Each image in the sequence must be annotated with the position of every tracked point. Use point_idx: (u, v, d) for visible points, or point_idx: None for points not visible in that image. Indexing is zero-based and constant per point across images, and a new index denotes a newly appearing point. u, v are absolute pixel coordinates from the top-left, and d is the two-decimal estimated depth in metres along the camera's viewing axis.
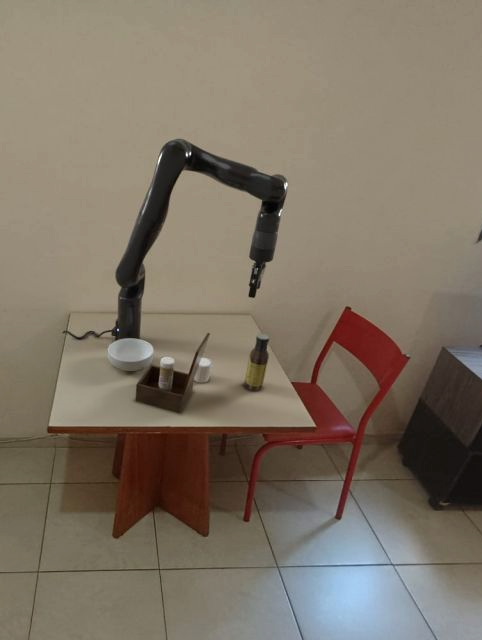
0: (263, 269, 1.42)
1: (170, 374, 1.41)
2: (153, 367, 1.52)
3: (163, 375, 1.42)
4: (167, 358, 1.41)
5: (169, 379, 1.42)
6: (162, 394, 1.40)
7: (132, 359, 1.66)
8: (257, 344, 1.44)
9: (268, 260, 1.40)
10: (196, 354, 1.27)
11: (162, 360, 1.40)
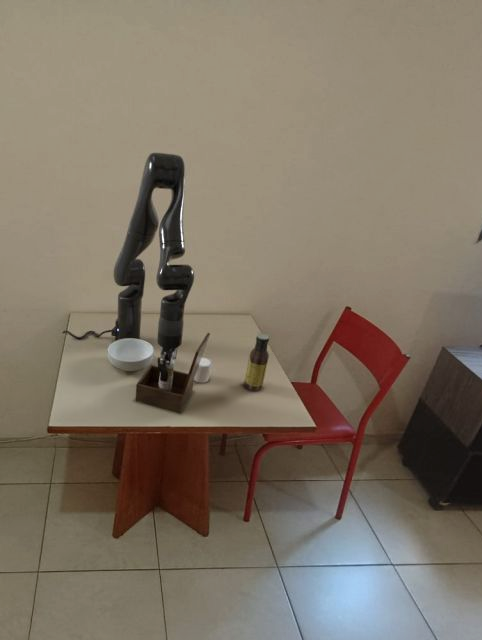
0: (171, 355, 1.37)
1: (170, 374, 1.41)
2: (153, 367, 1.52)
3: None
4: None
5: (169, 379, 1.42)
6: (162, 394, 1.40)
7: (132, 359, 1.66)
8: (257, 344, 1.44)
9: (175, 346, 1.34)
10: (196, 354, 1.27)
11: None
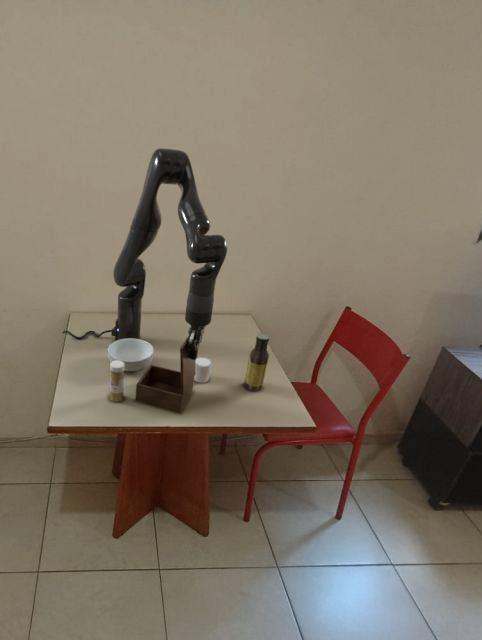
0: (200, 334, 1.29)
1: (120, 378, 1.40)
2: (153, 367, 1.52)
3: (113, 378, 1.40)
4: (117, 362, 1.40)
5: (119, 383, 1.41)
6: (162, 394, 1.40)
7: (132, 359, 1.66)
8: (257, 344, 1.44)
9: (204, 324, 1.26)
10: (181, 350, 1.29)
11: (112, 364, 1.39)
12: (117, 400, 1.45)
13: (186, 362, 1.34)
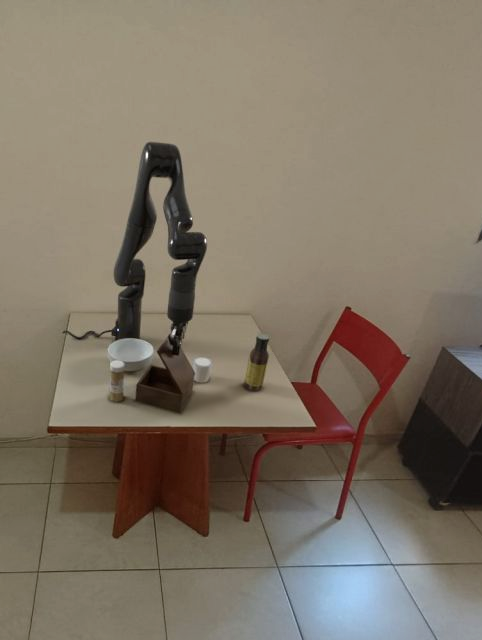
0: (182, 330, 1.31)
1: (120, 378, 1.40)
2: (153, 367, 1.52)
3: (113, 378, 1.40)
4: (117, 362, 1.40)
5: (119, 383, 1.41)
6: (162, 394, 1.40)
7: (132, 359, 1.66)
8: (257, 344, 1.44)
9: (186, 320, 1.28)
10: (158, 353, 1.32)
11: (112, 364, 1.39)
12: (117, 400, 1.45)
13: (172, 363, 1.37)
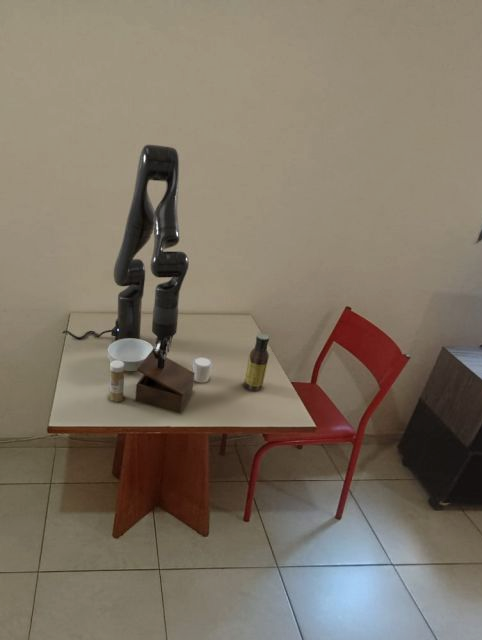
0: (166, 344, 1.36)
1: (120, 378, 1.40)
2: None
3: (113, 378, 1.40)
4: (117, 362, 1.40)
5: (119, 383, 1.41)
6: (162, 394, 1.40)
7: (132, 359, 1.66)
8: (257, 344, 1.44)
9: (170, 335, 1.33)
10: (139, 370, 1.39)
11: (112, 364, 1.39)
12: (117, 400, 1.45)
13: (159, 373, 1.40)
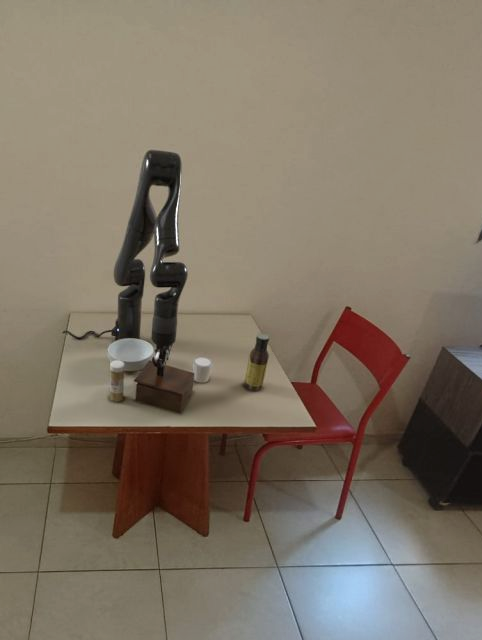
0: (165, 352, 1.37)
1: (120, 378, 1.40)
2: None
3: (113, 378, 1.40)
4: (117, 362, 1.40)
5: (119, 383, 1.41)
6: (162, 394, 1.40)
7: (132, 359, 1.66)
8: (257, 344, 1.44)
9: (169, 344, 1.34)
10: (136, 381, 1.41)
11: (112, 364, 1.39)
12: (117, 400, 1.45)
13: (156, 379, 1.42)
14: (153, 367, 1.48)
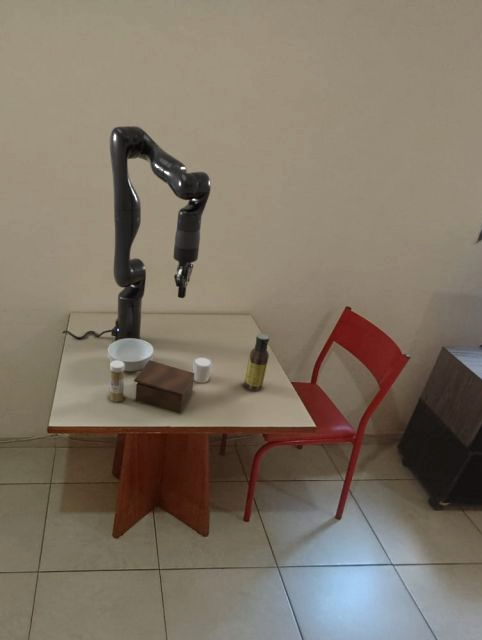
0: (187, 271, 1.38)
1: (120, 378, 1.40)
2: None
3: (113, 378, 1.40)
4: (117, 362, 1.40)
5: (119, 383, 1.41)
6: (162, 394, 1.40)
7: (132, 359, 1.66)
8: (257, 344, 1.44)
9: (191, 260, 1.35)
10: (136, 381, 1.41)
11: (112, 364, 1.39)
12: (117, 400, 1.45)
13: (156, 379, 1.42)
14: (153, 367, 1.48)
